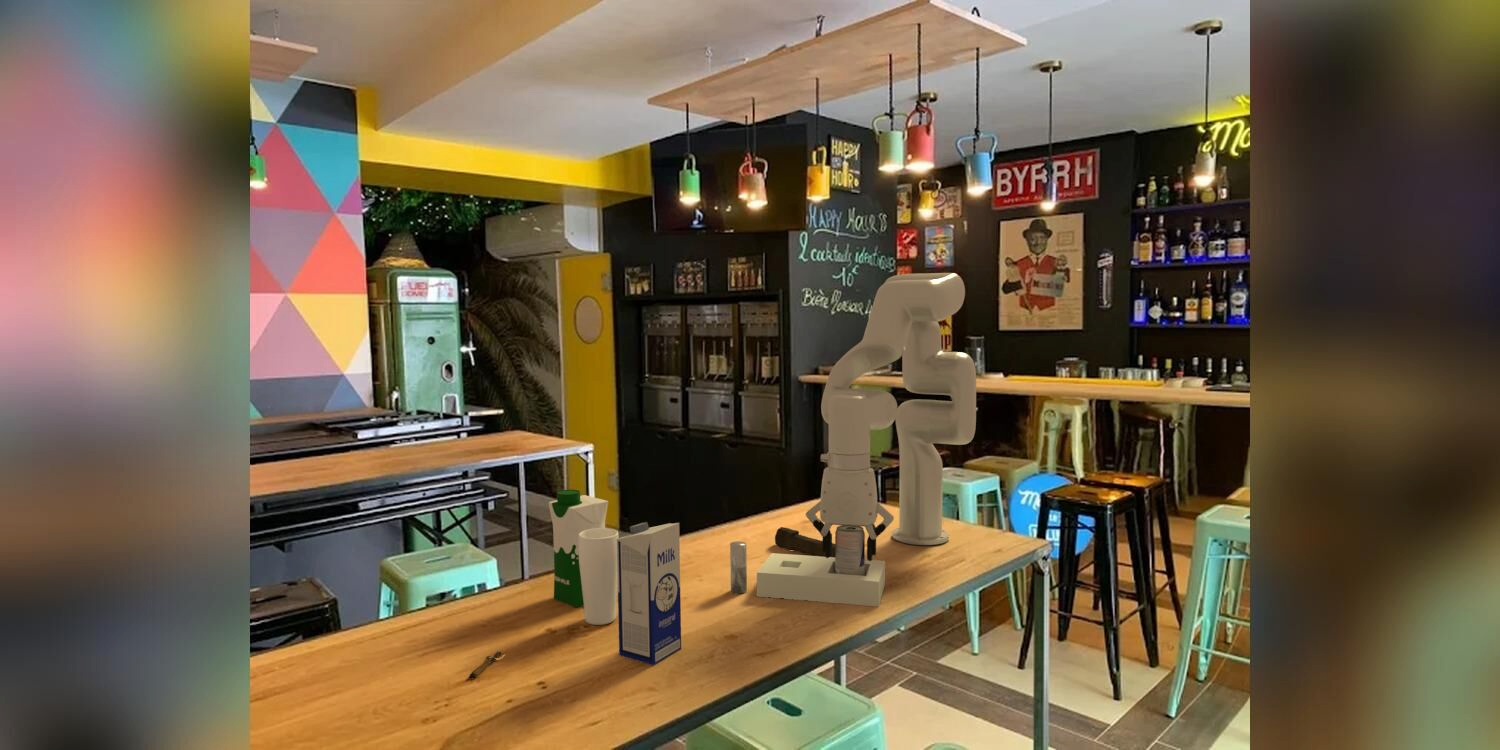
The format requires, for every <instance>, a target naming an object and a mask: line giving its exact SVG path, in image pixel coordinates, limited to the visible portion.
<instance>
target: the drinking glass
mask: <svg viewBox="0 0 1500 750" xmlns="http://www.w3.org/2000/svg"><path fill="white" fill-rule="evenodd" d="M618 538H620V537H619V531H618V530H617V529H614V528H609V527H605V528H595V529H589V530H585V531H582V532H580V533H579V535H578V556H579V567H580V576H581V585H582V593H583V603H584V605H583V618H584V621H585V622H586V623H587V624H590V625H595V626H602V625H607V624H610V623H612V622H614V621H615V620H616V619H617V603H618V576H617V540H616V539H618Z"/></svg>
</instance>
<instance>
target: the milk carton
mask: <svg viewBox="0 0 1500 750" xmlns="http://www.w3.org/2000/svg"><path fill="white" fill-rule="evenodd" d="M629 531H630V534H627V535H623V536H621V537H619V538H618V539H616V540H617V576H618V585H617V606H618V607H617V609H618V610H617V611H618V613H617V614H618V648H619V649H618V651H619V656H620V655H621V656H620V657H623V656H624V657H623V658H627V657H628V659H630V658H631V660H634V661H637V660H638V662H641V661H642V662H641V663H645V664H648V663H649V664H648V665H652V666H655V665H656V664H658V663H660V662H661V661H663V660H665V659H666V657H667V658H668V657H670V656H671V654H672V655H674V654H676V653H677V652H678V651H680V650H682V625H681V624H682V620H681V619H682V615H681V614H682V613H681V612H682V611H681V608H682V607H681V559H680V558H681V555H680V552H681V551H680V550H681V549H680V522H675V523H671V522H669V523H665V524H661V525H657V526H652V527H650V526H649V524H648V521H645V522H641V523H638V524H635V525H631V526H629Z"/></svg>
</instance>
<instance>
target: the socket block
mask: <svg viewBox="0 0 1500 750" xmlns="http://www.w3.org/2000/svg"><path fill="white" fill-rule="evenodd" d="M885 585H886V561H885V560H878V559H872V560H871V561H868V560H867V559H865V576H859V575H846V574H835V557H829V558H826V557H820V556H816V555H807V554H806V555H803V554H790V553H777V552H776V553H773V552H771V554H769V556H768V557H767V559H766V560H765V561H764V562H763V564H762V565H761V566H760V568H759V569H758V570H757V572H756V597H757V596H759V597H760V598H768V597H771V598H770V599H780V598H784V599H783V600H792V599H793V600H794V601H804V600H808V601H807V602H816V601H817V603H818V602H819V603H830V604H839V605H840V604H844V605H853V606H855V605H856V606H866V607H867V606H868V607H878V608H879V607H880V604H881V600H882V596H883V593H884V589H885ZM759 597H758V598H759Z"/></svg>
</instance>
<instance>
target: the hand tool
mask: <svg viewBox="0 0 1500 750" xmlns="http://www.w3.org/2000/svg"><path fill="white" fill-rule="evenodd" d="M774 535H775V536H774V543H775V545H776V546H778V547H779V548H781V549H783V548H784V550H786V549H787V550H786V551H788V550H796V551H798V552H802V553H805V554H810V555H811V556H820V557H826V552H823V540H822V539H821V540H820V539H816V538H813V537H808V536H806V535H803V534H800V531H798V530H795V529H792V528H788V527H783V526H781V527H779V528H778V529H776V533H775V534H774ZM830 557H835V542H834V543H833V542H832V554H831V556H830Z"/></svg>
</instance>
